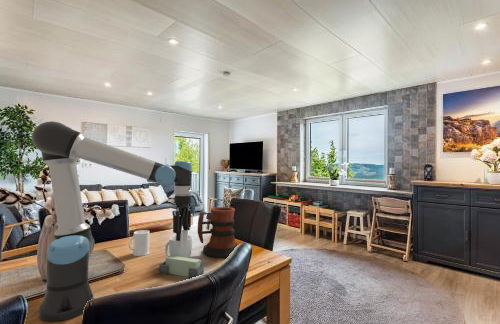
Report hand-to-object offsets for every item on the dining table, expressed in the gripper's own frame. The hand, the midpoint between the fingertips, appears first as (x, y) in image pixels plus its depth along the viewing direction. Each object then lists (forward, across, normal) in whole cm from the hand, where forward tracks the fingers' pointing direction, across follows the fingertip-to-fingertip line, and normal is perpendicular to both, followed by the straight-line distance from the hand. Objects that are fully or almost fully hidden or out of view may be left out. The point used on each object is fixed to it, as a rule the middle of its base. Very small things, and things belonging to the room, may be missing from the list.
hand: (181, 245), depth 119 cm
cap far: (+13, 0, +7) cm, 15 cm away
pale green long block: (+13, 0, 0) cm, 13 cm away
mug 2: (+13, +10, +8) cm, 18 cm away
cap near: (+13, 0, -7) cm, 15 cm away
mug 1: (+13, +15, +35) cm, 41 cm away
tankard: (+13, +33, -5) cm, 35 cm away
